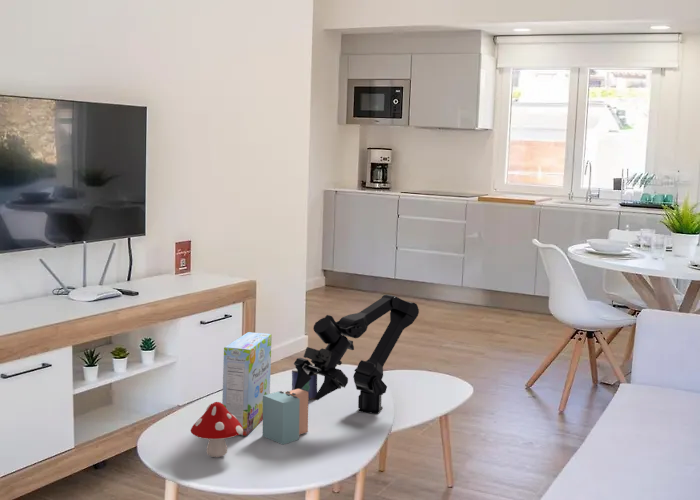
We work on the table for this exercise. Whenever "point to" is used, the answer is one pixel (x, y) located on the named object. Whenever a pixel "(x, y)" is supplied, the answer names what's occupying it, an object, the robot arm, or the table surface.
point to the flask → (309, 386)
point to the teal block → (281, 417)
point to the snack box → (247, 378)
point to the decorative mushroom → (217, 428)
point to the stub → (301, 408)
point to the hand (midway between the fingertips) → (305, 395)
